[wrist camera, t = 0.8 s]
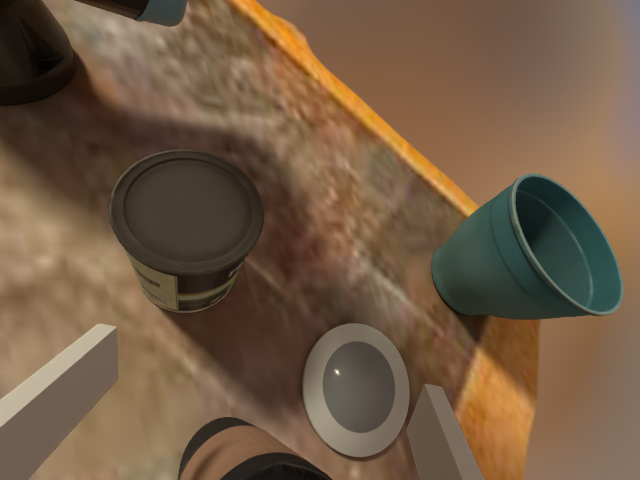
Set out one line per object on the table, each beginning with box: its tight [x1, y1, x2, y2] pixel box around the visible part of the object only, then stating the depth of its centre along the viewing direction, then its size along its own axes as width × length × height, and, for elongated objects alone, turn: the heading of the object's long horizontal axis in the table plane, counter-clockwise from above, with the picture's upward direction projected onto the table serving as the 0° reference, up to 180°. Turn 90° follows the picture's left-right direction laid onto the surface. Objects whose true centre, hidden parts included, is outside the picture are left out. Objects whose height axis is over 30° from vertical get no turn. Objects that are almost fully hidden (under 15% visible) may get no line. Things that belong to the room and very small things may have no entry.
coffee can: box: [109, 149, 264, 313], centre depth 27 cm, size 10×10×14 cm
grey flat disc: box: [302, 323, 410, 457], centre depth 35 cm, size 14×14×1 cm
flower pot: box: [431, 173, 623, 320], centre depth 42 cm, size 18×18×17 cm
